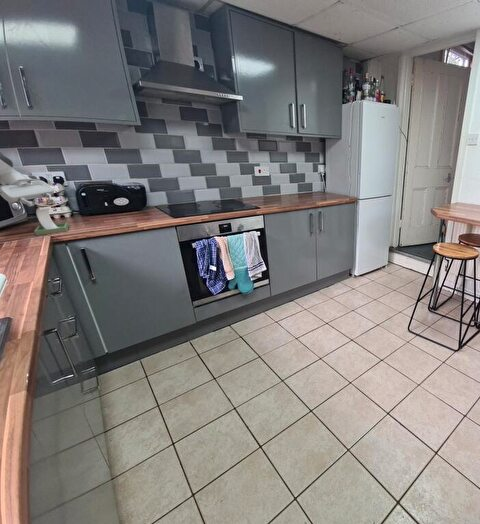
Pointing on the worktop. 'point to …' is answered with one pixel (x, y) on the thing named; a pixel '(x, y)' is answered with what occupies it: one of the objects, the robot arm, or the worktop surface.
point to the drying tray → (62, 228)
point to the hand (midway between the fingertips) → (42, 203)
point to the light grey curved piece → (45, 218)
